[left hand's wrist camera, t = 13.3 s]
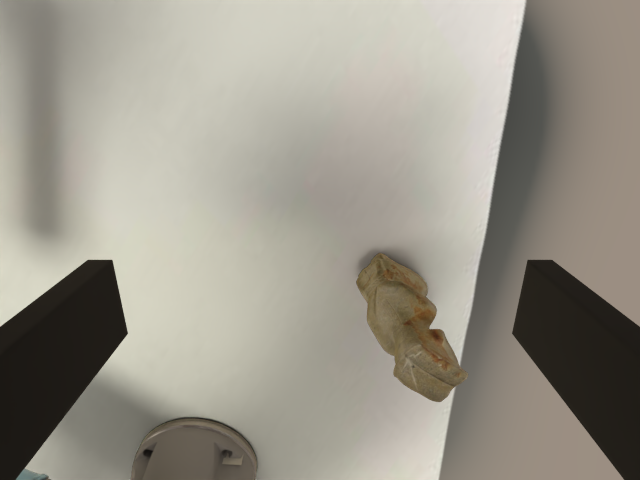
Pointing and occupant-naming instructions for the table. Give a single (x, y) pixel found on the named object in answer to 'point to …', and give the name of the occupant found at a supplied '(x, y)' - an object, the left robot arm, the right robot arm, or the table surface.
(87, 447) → the table surface
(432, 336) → the sculpture
